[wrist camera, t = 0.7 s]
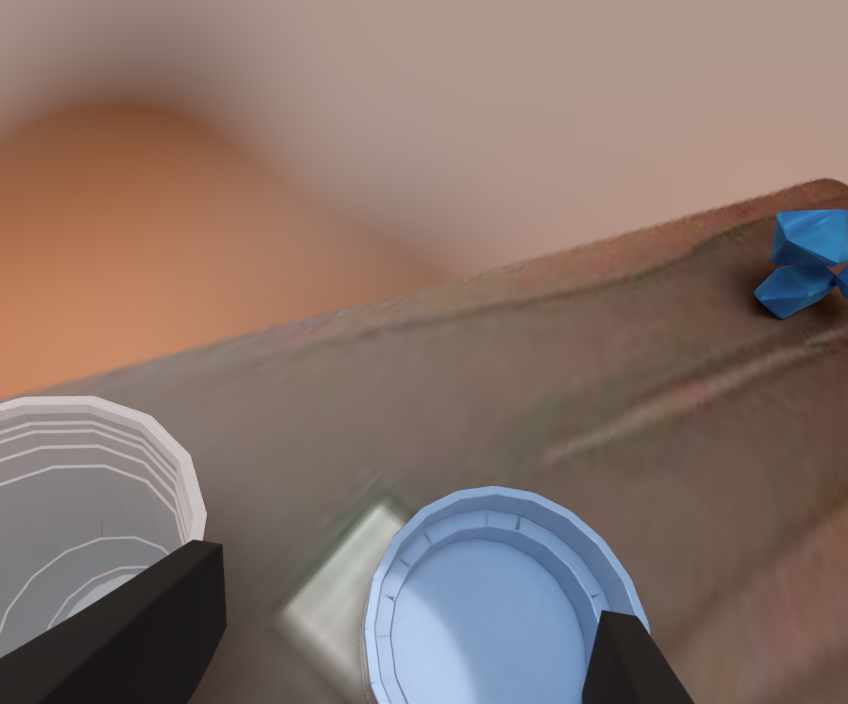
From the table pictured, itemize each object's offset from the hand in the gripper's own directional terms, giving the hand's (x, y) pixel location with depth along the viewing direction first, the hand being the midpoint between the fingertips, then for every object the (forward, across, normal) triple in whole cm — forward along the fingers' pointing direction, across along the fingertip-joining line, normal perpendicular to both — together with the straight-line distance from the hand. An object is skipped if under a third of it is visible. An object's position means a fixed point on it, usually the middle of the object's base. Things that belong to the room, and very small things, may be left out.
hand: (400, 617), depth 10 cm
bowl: (+12, -3, +13) cm, 18 cm away
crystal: (+39, -24, 0) cm, 46 cm away
